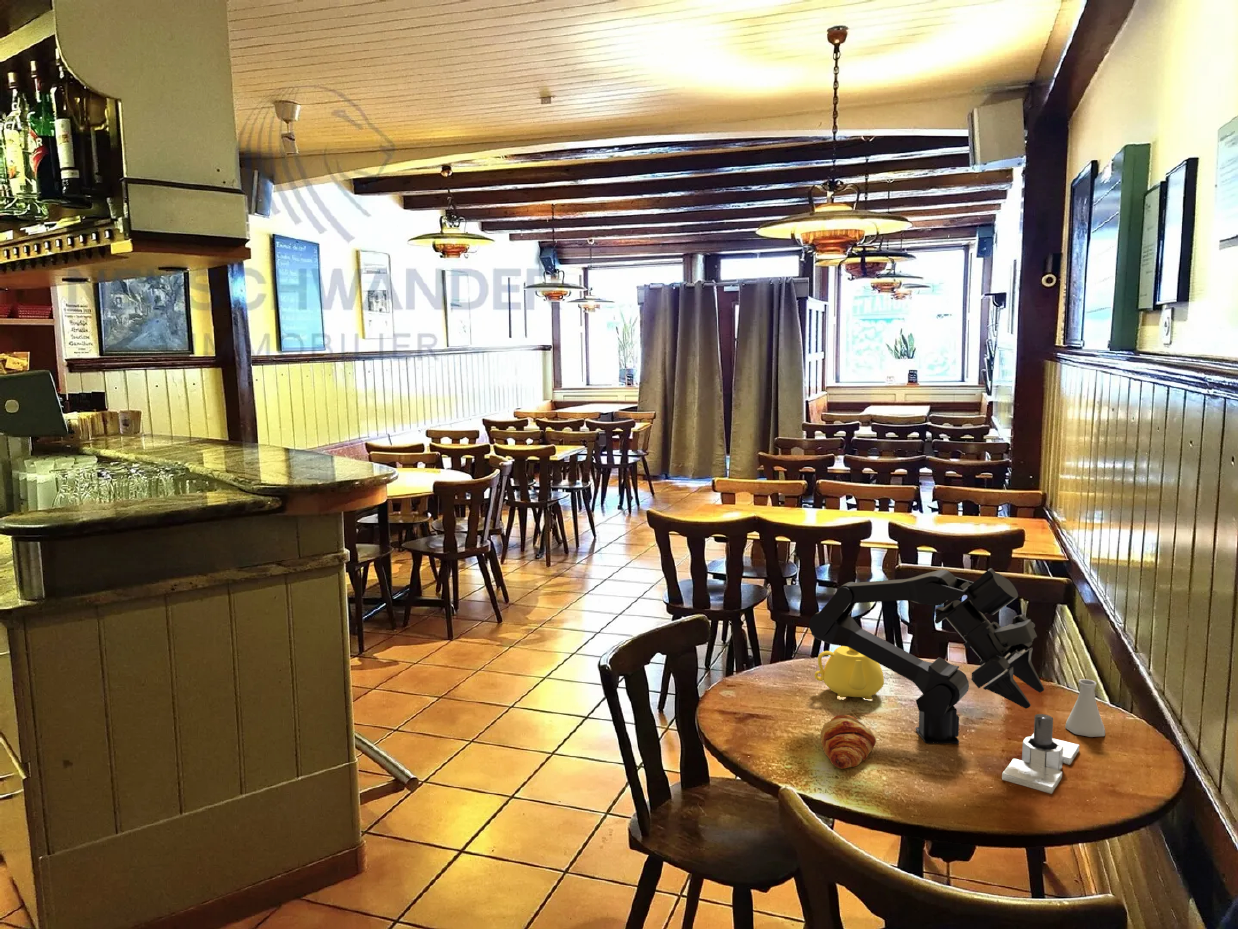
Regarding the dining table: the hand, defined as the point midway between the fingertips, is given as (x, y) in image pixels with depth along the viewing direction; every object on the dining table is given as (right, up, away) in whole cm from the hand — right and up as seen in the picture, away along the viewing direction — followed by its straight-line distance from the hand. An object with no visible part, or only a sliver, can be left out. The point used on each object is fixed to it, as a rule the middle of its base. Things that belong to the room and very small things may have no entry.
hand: (1035, 699), depth 155 cm
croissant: (-32, -12, +8) cm, 35 cm away
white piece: (+1, -12, +1) cm, 12 cm away
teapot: (-25, -9, +35) cm, 43 cm away
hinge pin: (+1, -12, +1) cm, 12 cm away
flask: (+17, -10, +15) cm, 25 cm away
